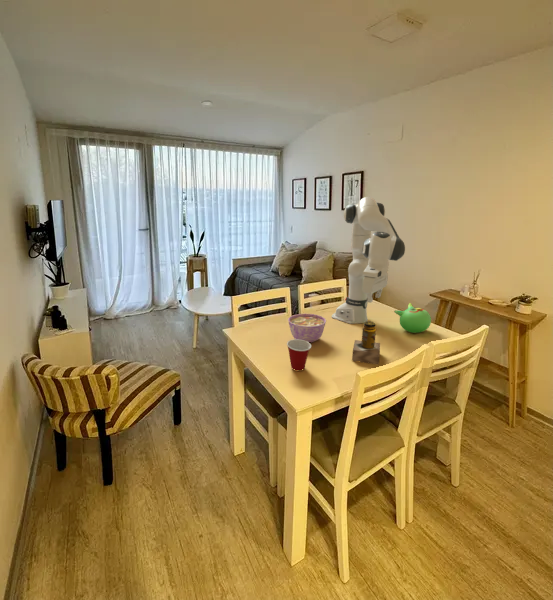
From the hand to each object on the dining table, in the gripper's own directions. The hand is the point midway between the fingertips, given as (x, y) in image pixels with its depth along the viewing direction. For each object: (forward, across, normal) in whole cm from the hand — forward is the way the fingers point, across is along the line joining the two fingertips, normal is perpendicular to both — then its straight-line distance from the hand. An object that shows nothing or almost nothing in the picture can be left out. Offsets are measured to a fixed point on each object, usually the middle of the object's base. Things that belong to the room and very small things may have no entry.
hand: (373, 299), depth 152 cm
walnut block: (+29, 0, -1) cm, 29 cm away
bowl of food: (+30, +1, -34) cm, 45 cm away
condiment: (+24, +1, -1) cm, 24 cm away
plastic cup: (+30, +29, -20) cm, 46 cm away
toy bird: (+29, -48, +7) cm, 56 cm away
